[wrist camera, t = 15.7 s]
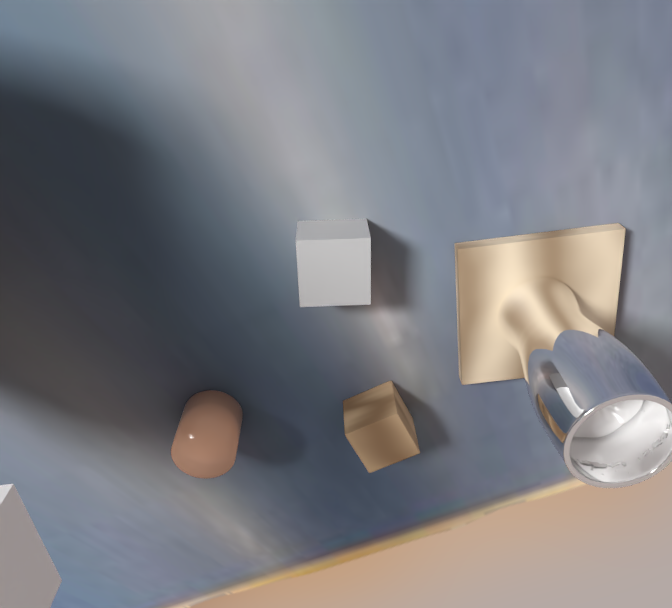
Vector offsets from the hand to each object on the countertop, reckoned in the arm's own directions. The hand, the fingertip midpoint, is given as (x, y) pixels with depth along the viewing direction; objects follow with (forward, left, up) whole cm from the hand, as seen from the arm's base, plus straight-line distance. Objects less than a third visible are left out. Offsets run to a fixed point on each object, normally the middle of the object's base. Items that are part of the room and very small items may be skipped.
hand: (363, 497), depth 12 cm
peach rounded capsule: (-13, -22, -33) cm, 42 cm away
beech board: (+14, -15, -33) cm, 39 cm away
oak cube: (+1, -24, -33) cm, 40 cm away
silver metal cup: (+14, -15, -32) cm, 38 cm away
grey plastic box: (-1, -8, -33) cm, 34 cm away
